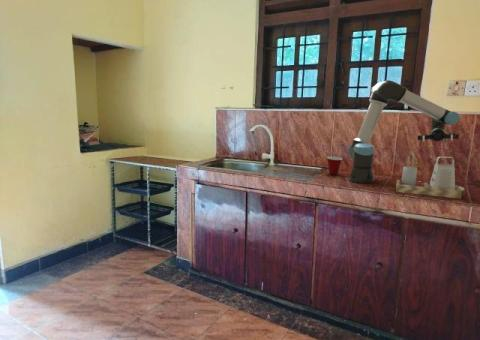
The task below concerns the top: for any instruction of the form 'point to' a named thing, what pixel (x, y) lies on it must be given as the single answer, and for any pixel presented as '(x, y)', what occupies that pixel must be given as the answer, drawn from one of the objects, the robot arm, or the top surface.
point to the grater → (443, 176)
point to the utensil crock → (409, 173)
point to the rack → (429, 190)
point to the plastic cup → (334, 164)
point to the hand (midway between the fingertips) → (437, 138)
